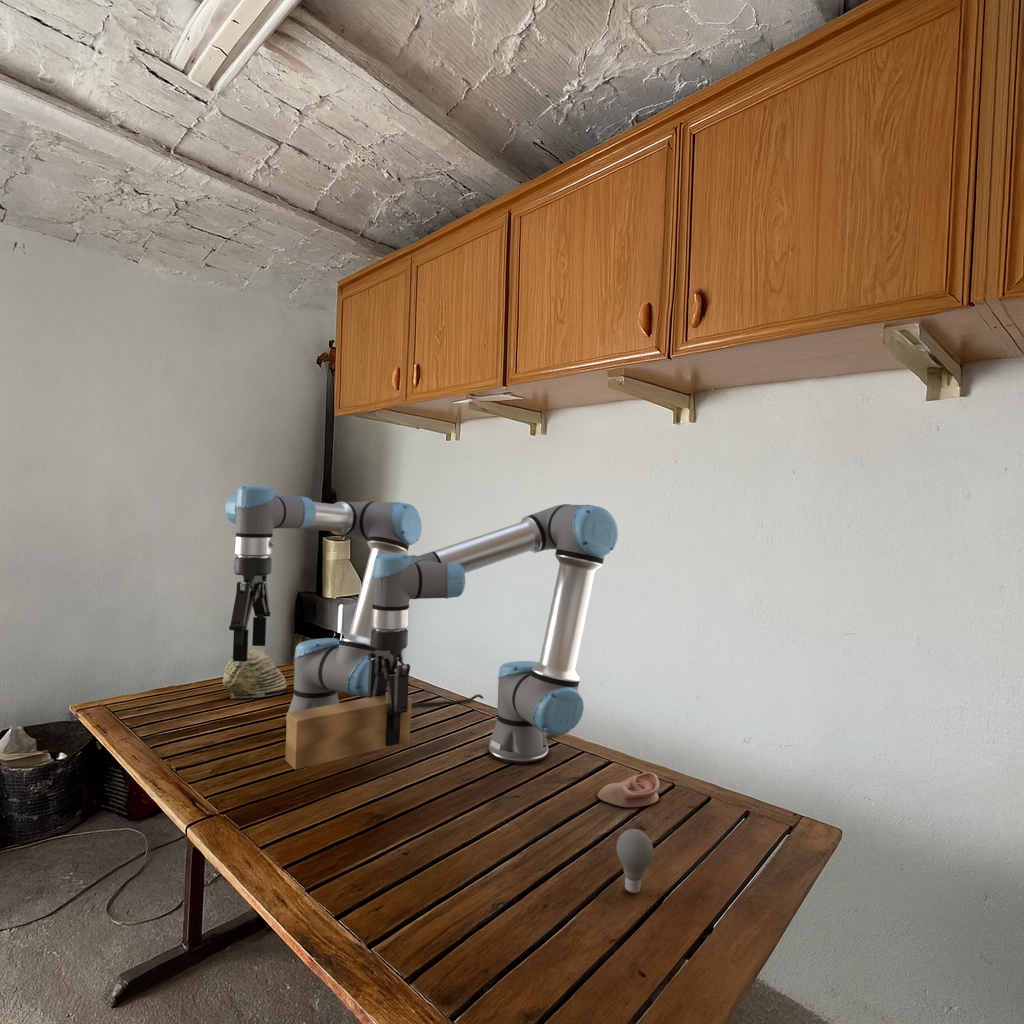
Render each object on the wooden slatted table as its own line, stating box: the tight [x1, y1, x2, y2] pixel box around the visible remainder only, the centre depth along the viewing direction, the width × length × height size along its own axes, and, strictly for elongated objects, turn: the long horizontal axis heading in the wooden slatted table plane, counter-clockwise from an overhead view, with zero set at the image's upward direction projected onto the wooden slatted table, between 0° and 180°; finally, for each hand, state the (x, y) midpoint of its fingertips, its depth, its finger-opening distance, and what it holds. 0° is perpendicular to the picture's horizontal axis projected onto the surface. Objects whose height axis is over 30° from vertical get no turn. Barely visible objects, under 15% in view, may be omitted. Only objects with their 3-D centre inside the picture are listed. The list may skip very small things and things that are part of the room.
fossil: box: [222, 647, 288, 699], centre depth 198 cm, size 9×18×15 cm, turn 132°
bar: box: [284, 693, 413, 771], centre depth 126 cm, size 24×5×9 cm, turn 129°
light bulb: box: [615, 828, 654, 894], centre depth 106 cm, size 6×6×10 cm
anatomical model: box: [596, 771, 660, 808], centre depth 140 cm, size 13×4×12 cm
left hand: (249, 653), depth 139 cm, fingers open, 13 cm apart
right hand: (385, 739), depth 131 cm, fingers closed on bar, 5 cm apart
